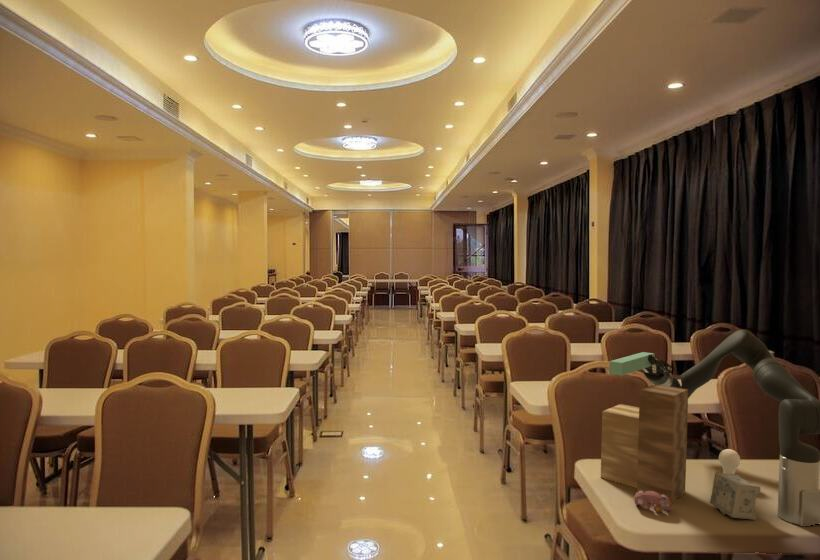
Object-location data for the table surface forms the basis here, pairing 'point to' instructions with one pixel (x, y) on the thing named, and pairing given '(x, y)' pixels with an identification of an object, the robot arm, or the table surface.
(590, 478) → the table surface
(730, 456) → the lightbulb
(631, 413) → the oak block
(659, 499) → the pink animal figurine
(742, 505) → the grey speckled block
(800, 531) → the table surface
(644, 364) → the bar
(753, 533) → the table surface
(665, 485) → the walnut stand
